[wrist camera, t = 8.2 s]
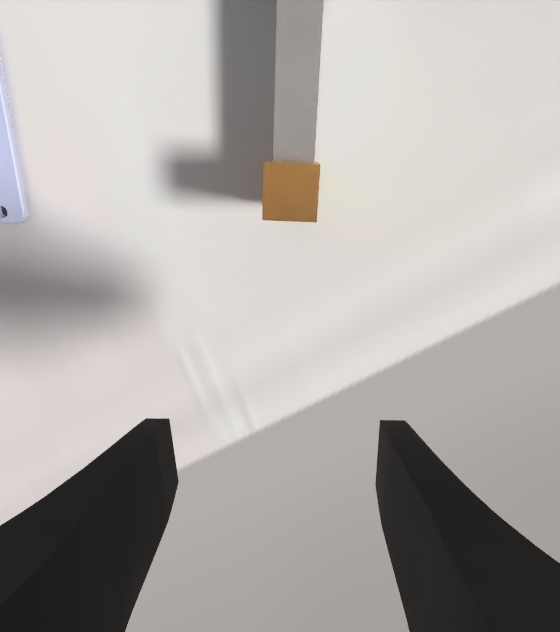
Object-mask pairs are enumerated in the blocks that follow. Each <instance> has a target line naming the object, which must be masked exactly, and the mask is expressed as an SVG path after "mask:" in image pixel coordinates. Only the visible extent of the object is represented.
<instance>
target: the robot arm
mask: <svg viewBox="0 0 560 632" xmlns="http://www.w3.org/2000/svg"><path fill="white" fill-rule="evenodd" d="M2 206H3V207H4V208H5V209H6V210H7V216H5V215H4V214H3V213H2V211H1V210H2ZM28 216H29V211H28V205H27V200H26V194H25V189H24V183H23V178H22V172H21V167H20V161H19V156H18V150H17V145H16V139H15V134H14V128H13V123H12V117H11V112H10V106H9V101H8V95H7V90H6V84H5V79H4V73H3V68H2V62H1V57H0V223H7V224H18V223H22V222H25V221H26V220H27V219H28ZM177 485H178V475H177V469H176V462H175V455H174V448H173V441H172V435H171V428H170V421H169V419H145V420H144V421H142V422H141V423H139V424H138V425H137V426H136V427H134V428H133V429H132V430H131V431H129V432H128V433H127V434H126V435H124V436H123V437H122V438H121V439H120V440H118V441H117V442H116V443H115V444H113V445H112V446H111V447H110V448H108V449H107V450H106V451H105V452H103V453H102V454H101V455H100V456H98V457H97V458H96V459H95V460H93V461H92V462H91V463H90V464H88V465H87V466H86V467H85V468H83V469H82V470H81V471H79V472H78V473H77V474H75V475H74V476H72V477H71V478H70V479H68V480H67V481H66V482H64V483H63V484H62V485H60V486H59V487H57V488H56V489H55V490H53V491H52V492H51V493H49V494H48V495H47V496H45V497H44V498H42V499H41V500H39V501H38V502H36V503H35V504H33V505H32V506H30V507H29V508H27V509H26V510H24V511H23V512H21V513H20V514H18V515H17V516H15V517H13V518H12V519H10V520H9V521H7V522H5V523H4V524H2V525H1V526H0V632H125V630H126V627H127V624H128V621H129V618H130V616H131V613H132V610H133V608H134V605H135V603H136V600H137V598H138V595H139V593H140V590H141V588H142V585H143V583H144V581H145V578H146V576H147V573H148V571H149V568H150V565H151V563H152V561H153V557H154V556H155V553H156V551H157V548H158V546H159V543H160V541H161V538H162V535H163V533H164V530H165V528H166V525H167V523H168V520H169V516H170V513H171V509H172V505H173V502H174V498H175V494H176V490H177ZM376 491H377V498H378V505H379V512H380V518H381V524H382V528H383V532H384V536H385V540H386V544H387V547H388V551H389V555H390V559H391V562H392V566H393V570H394V574H395V577H396V581H397V585H398V589H399V592H400V596H401V600H402V603H403V607H404V611H405V614H406V618H407V622H408V626H409V631H410V632H560V563H558V562H557V561H555V560H554V559H553V558H551V557H550V556H549V555H547V554H546V553H545V552H543V551H542V550H541V549H539V548H538V547H536V546H535V545H534V544H533V543H532V542H530V541H529V540H528V539H526V538H525V537H524V536H523V535H521V534H520V533H519V532H518V531H517V530H515V529H514V528H513V527H512V526H510V525H509V524H508V523H507V522H505V521H504V520H503V519H502V518H501V517H499V516H498V515H497V514H496V513H495V512H494V511H492V510H491V509H490V508H489V507H488V506H487V505H486V504H485V503H484V502H483V501H481V500H480V499H479V498H478V497H477V496H476V495H475V494H474V493H473V492H472V491H471V490H470V489H469V488H468V487H466V485H465V484H464V483H463V482H461V481H460V479H459V478H458V477H457V476H456V475H455V474H454V473H453V472H452V471H451V470H450V469H449V468H448V467H447V466H446V465H445V464H444V463H443V462H442V461H441V460H440V459H439V458H438V457H437V456H436V454H434V452H433V451H432V450H431V449H430V448H429V447H428V446H427V445H426V443H425V442H424V441H423V440H422V439H421V438H420V437H419V436H418V434H417V433H416V432H415V431H414V430H413V429H412V428H411V427H410V425H409V424H408V423H407V422H406V421H395V420H388V421H386V420H385V421H384V420H380V430H379V443H378V458H377V473H376Z"/></svg>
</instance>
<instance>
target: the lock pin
mask: <svg viewBox="0 0 560 632" xmlns="http://www.w3.org/2000/svg"><path fill="white" fill-rule="evenodd" d="M322 17H323V0H277V7H276V49H275V90H274V131H273V160H271V161H267V162H264V163H263V217H262V220H274V221H299V222H317V207H318V191H319V175H320V164H319V163H318V162H314V155H315V138H316V120H317V103H318V86H319V69H320V51H321V34H322Z"/></svg>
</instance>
